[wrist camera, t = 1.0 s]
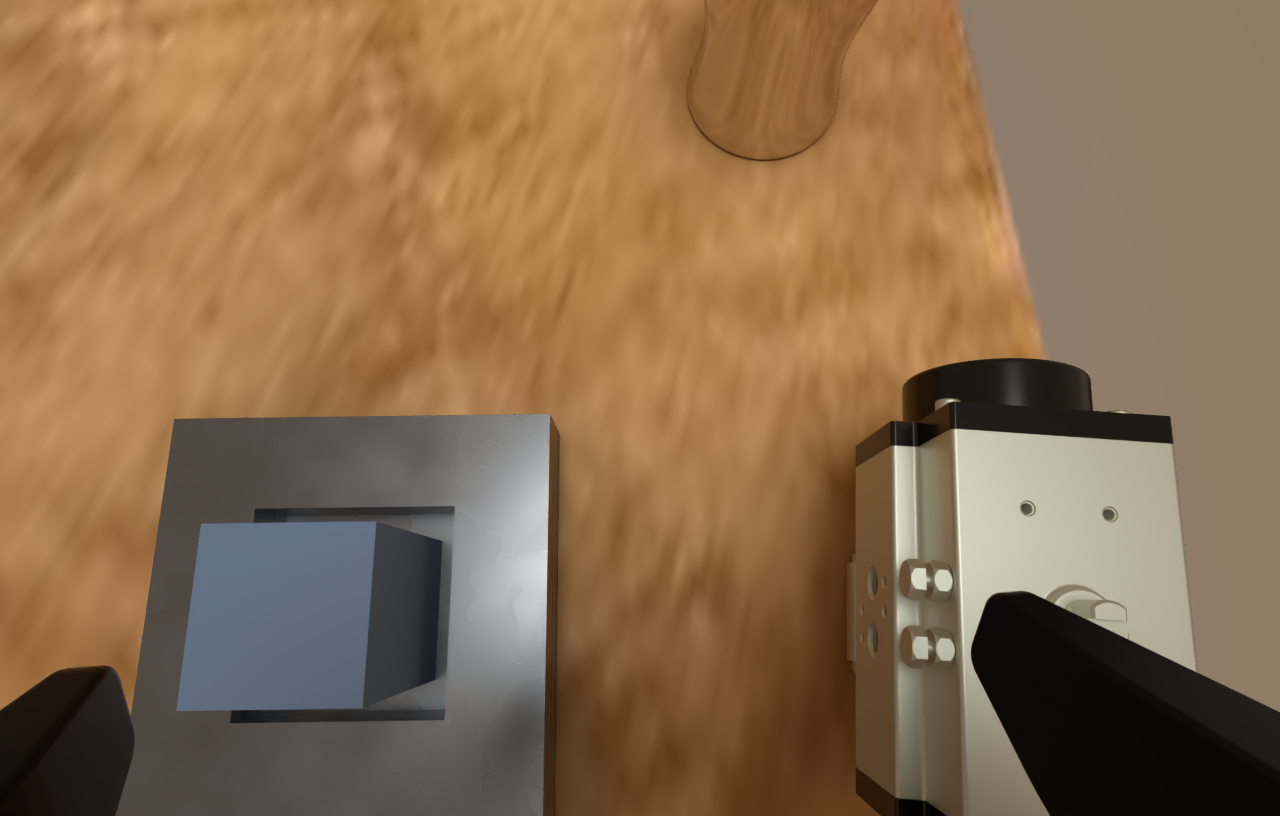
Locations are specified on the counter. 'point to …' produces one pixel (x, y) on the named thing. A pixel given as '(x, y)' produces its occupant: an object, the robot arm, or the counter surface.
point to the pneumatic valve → (996, 565)
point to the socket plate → (467, 625)
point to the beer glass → (771, 72)
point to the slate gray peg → (309, 616)
